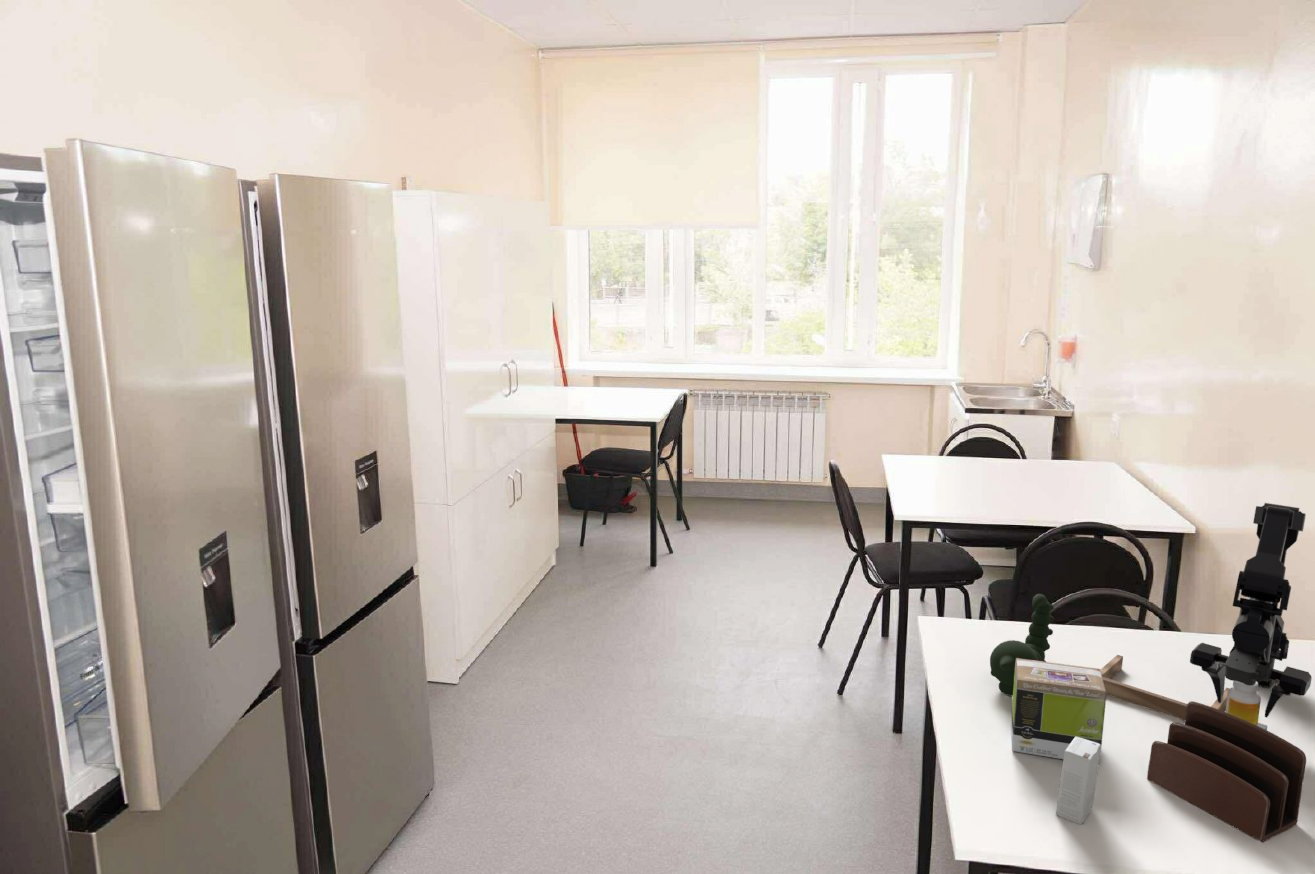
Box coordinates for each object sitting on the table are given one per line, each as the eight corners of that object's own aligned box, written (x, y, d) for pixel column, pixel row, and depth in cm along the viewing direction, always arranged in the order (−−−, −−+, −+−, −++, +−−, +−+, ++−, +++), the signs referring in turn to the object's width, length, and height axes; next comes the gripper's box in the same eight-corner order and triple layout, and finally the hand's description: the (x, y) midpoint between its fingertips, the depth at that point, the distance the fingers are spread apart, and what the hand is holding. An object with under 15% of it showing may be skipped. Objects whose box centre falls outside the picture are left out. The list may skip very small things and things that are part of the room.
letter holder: (1180, 765, 167) (1191, 693, 164) (1298, 826, 150) (1311, 747, 147) (1145, 779, 163) (1155, 706, 160) (1262, 844, 146) (1275, 763, 143)
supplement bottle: (1261, 736, 174) (1267, 688, 172) (1230, 733, 176) (1235, 686, 174) (1249, 722, 180) (1255, 675, 178) (1219, 719, 181) (1224, 673, 179)
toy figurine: (1015, 664, 209) (974, 696, 190) (1025, 584, 206) (985, 608, 187) (1059, 677, 203) (1020, 711, 184) (1070, 594, 200) (1032, 620, 181)
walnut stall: (1115, 667, 205) (1117, 654, 204) (1231, 702, 189) (1233, 689, 189) (1091, 689, 195) (1092, 676, 194) (1210, 728, 179) (1212, 714, 179)
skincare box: (1066, 798, 157) (1073, 733, 154) (1094, 809, 154) (1102, 743, 151) (1054, 815, 152) (1061, 748, 150) (1083, 826, 149) (1091, 759, 147)
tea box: (1093, 739, 175) (1102, 667, 172) (1099, 767, 166) (1108, 692, 163) (1008, 725, 180) (1015, 655, 177) (1010, 752, 171) (1017, 678, 168)
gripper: (1186, 630, 174) (1175, 706, 178) (1304, 663, 161) (1290, 744, 165) (1203, 614, 182) (1193, 687, 185) (1318, 643, 169) (1304, 721, 172)
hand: (1242, 709), depth 177 cm, fingers open, 7 cm apart
